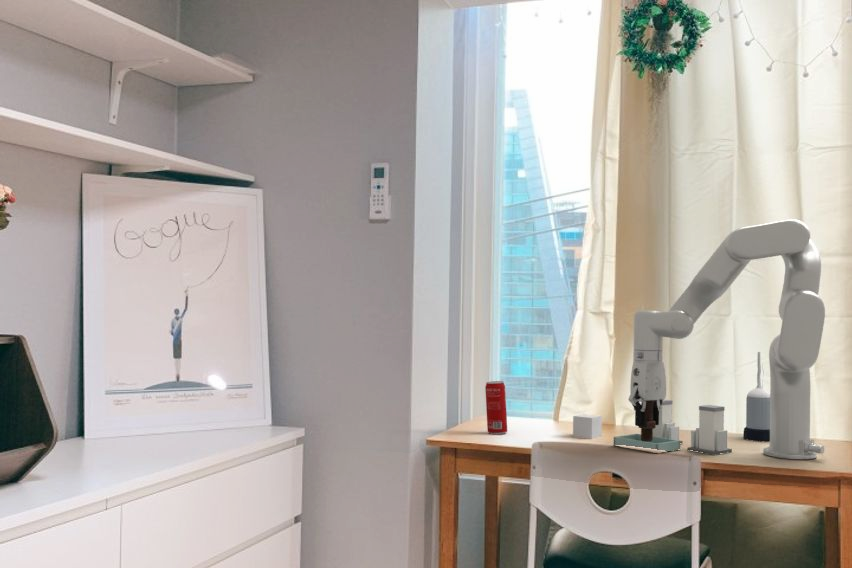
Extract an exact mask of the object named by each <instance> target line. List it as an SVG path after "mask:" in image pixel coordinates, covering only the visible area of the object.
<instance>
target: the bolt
mask: <svg viewBox="0 0 852 568" xmlns="http://www.w3.org/2000/svg"><path fill="white" fill-rule="evenodd" d="M641 399H643V398H641ZM640 404H642V402H640ZM645 412H646V427H641V426H637V427H638V428H639V429H640V434H641V441H646V442H649V441H652V440H653V437H652V436H653V432H652V431H653V429H654V428H655V424H656V423H655V421H654V420H653V400H649V401H646V406H645Z"/></svg>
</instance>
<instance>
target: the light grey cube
mask: <svg viewBox="0 0 852 568" xmlns="http://www.w3.org/2000/svg"><path fill="white" fill-rule="evenodd" d="M572 418H573V419H572V437H574V438H580V439H581V438H583V439H590V440H594V439H598V438H601V437H602V434H603V432H602V431H603V416H602V415H595V414H586V413H581V414H577V415H573V417H572Z"/></svg>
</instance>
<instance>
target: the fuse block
mask: <svg viewBox="0 0 852 568" xmlns="http://www.w3.org/2000/svg"><path fill="white" fill-rule="evenodd" d="M653 402H654V401H653ZM660 407H661V408H660V410H659V425H655V428H654V429H653V431H652V432H653V436H655V437H661V438H667V439H673V440H679V441H680V443H682V444H683V440H680V426H677V425H676V423H675V422H672V421H673V418H672V417H673V413H672V412H673V411H672V410H673V400H672V399H664V400H663V401H662V404H661V406H660ZM698 411H699V413H698V414H699V416H698V418H699V420H698V421H699V423H698V426H699V427H696V428H695V429H693V430H691V431H690V446H689V447H687V449H686V451H687V450H693V451H698V452H703V453H702V454H704V453H708V454H707V455H710V454H714V455H713V456H716V455H715V454H718V455H721V454H720V453H724V454H728V453H727V452H729V453H732V452H733V449H732V448H728V430H725V429H724V428H725V425H724V424H725V406H723V405H722V406H721V405H712V404H704V405H698ZM693 451H692V452H693ZM698 452H697V453H698Z"/></svg>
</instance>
